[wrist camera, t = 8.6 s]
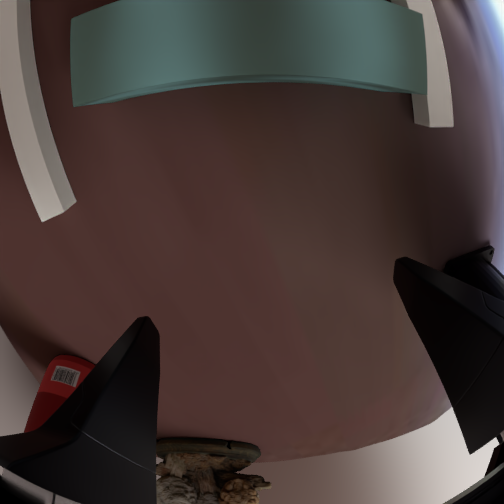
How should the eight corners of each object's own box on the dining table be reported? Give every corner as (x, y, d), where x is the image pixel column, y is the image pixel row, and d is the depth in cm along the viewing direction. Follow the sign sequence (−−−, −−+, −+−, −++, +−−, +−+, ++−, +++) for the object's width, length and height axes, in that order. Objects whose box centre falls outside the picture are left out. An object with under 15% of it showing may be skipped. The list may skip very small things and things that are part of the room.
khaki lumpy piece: (272, 436, 32) (287, 542, 18) (261, 456, 38) (271, 538, 24) (143, 432, 30) (137, 538, 15) (158, 453, 36) (156, 536, 21)
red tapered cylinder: (41, 362, 21) (12, 445, 12) (71, 343, 20) (34, 449, 10) (93, 399, 25) (76, 478, 16) (131, 387, 23) (115, 485, 14)
